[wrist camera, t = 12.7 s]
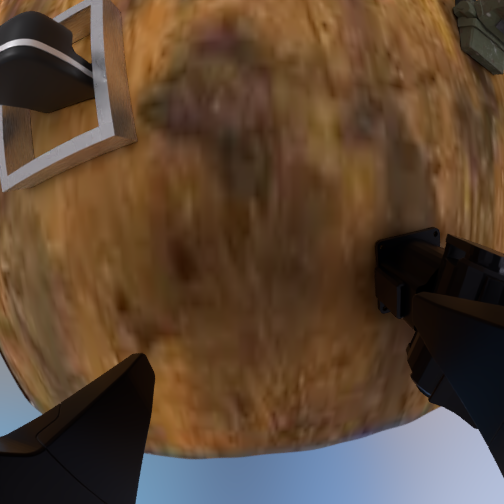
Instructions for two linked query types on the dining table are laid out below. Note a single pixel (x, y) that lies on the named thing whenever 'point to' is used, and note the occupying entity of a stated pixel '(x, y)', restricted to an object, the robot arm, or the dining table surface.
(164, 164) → the dining table surface
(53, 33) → the battery charger
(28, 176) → the hollow square metal frame
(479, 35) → the mechanical leg
